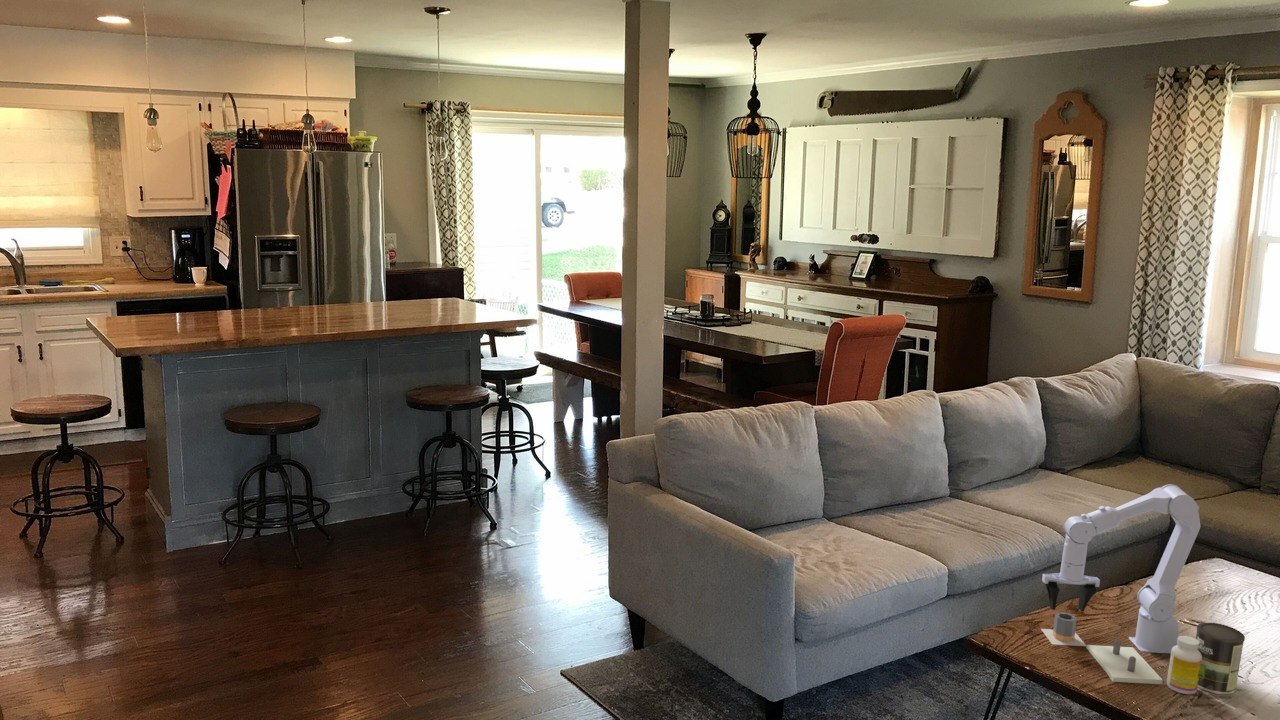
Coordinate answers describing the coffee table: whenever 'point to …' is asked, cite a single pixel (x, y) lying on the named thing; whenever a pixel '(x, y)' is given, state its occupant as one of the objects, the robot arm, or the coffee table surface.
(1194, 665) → the supplement bottle
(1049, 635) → the pad
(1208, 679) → the coffee can
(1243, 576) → the coffee table surface
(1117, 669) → the pin board
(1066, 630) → the sleeve
